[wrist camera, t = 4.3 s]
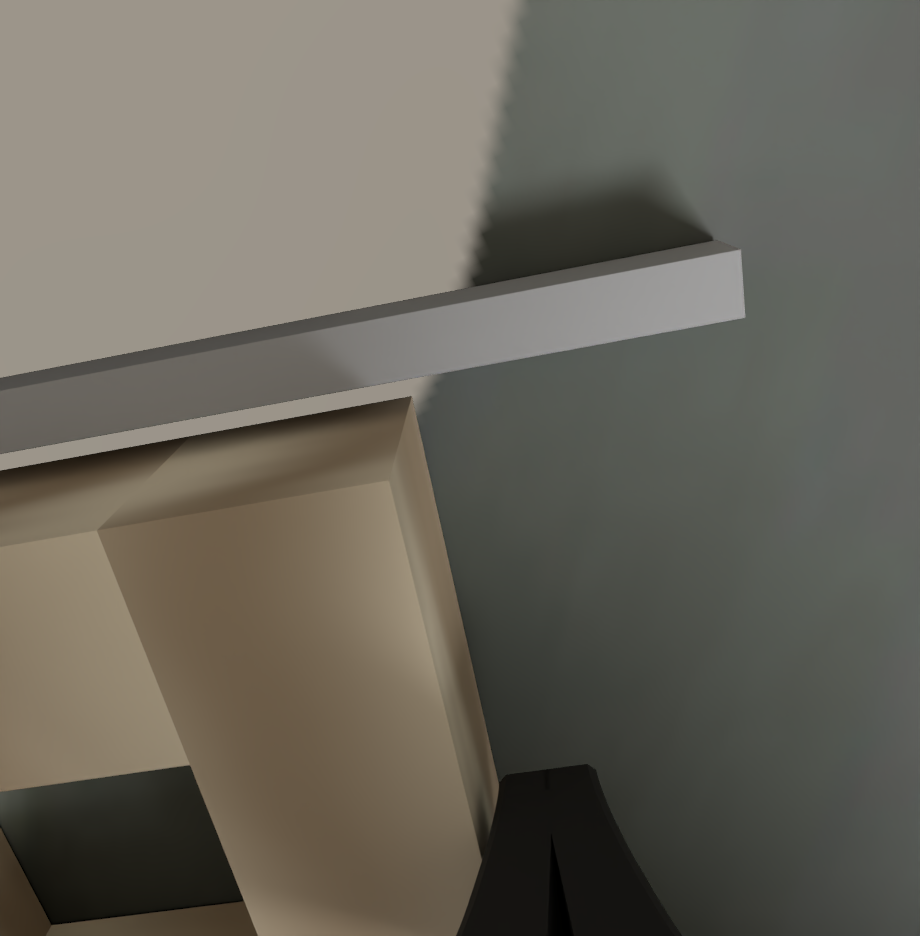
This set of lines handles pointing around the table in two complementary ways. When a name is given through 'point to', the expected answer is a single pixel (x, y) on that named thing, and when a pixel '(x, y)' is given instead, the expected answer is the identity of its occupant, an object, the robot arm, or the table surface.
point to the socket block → (254, 668)
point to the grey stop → (375, 345)
